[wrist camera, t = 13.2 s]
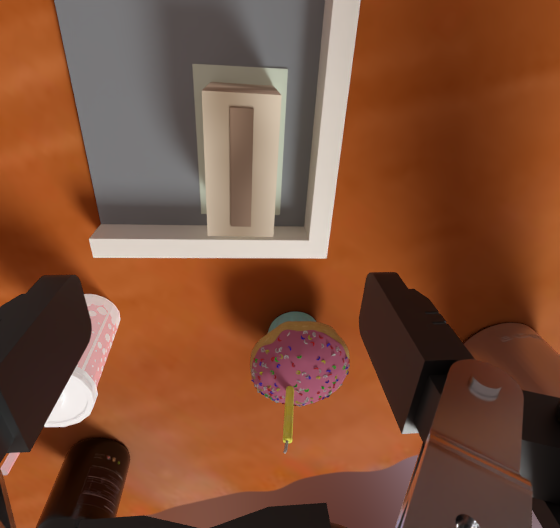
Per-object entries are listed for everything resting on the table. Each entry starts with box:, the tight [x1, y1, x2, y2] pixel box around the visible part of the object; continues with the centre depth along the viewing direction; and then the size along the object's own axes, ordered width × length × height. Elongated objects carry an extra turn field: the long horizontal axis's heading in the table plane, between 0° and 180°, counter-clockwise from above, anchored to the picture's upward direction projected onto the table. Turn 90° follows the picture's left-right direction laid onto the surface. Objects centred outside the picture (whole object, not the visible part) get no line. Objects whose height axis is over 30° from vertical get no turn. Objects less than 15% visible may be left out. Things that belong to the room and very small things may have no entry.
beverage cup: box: [1, 294, 120, 475], centre depth 26 cm, size 6×6×14 cm
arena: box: [54, 0, 361, 258], centre depth 24 cm, size 17×17×3 cm
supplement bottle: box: [36, 438, 130, 528], centre depth 37 cm, size 7×7×12 cm
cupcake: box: [250, 312, 350, 453], centre depth 30 cm, size 9×8×12 cm
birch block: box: [202, 82, 282, 237], centre depth 23 cm, size 4×8×6 cm, turn 176°
